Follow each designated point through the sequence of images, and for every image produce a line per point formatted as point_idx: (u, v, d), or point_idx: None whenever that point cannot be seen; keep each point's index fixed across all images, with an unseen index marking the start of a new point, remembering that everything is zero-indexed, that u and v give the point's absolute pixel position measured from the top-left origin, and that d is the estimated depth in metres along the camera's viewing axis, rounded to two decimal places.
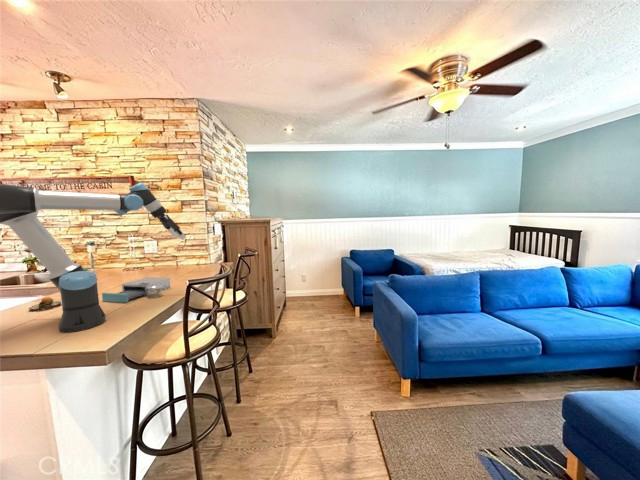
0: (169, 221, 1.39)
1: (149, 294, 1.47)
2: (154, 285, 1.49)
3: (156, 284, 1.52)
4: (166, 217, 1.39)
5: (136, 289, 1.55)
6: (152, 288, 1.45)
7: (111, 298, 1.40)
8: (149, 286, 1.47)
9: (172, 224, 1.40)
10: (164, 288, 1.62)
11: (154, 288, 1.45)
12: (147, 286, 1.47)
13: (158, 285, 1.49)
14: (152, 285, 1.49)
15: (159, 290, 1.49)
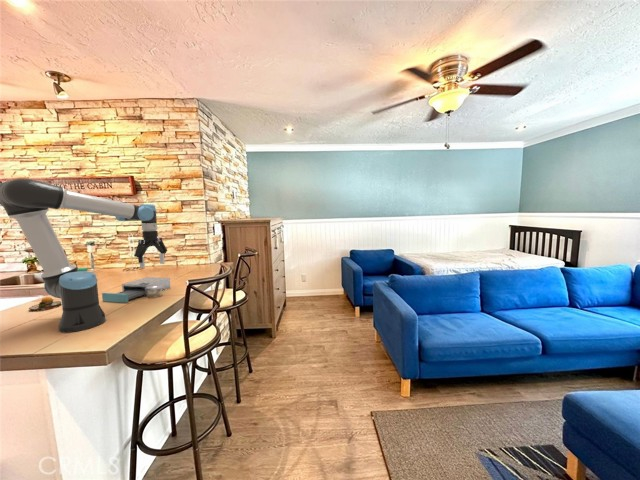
0: (138, 246, 1.39)
1: (149, 294, 1.47)
2: (154, 285, 1.49)
3: (156, 284, 1.52)
4: (140, 241, 1.39)
5: (136, 289, 1.55)
6: (152, 288, 1.45)
7: (111, 298, 1.40)
8: (149, 286, 1.47)
9: (137, 249, 1.38)
10: (164, 288, 1.62)
11: (154, 288, 1.45)
12: (147, 286, 1.47)
13: (158, 285, 1.49)
14: (152, 285, 1.49)
15: (159, 290, 1.49)
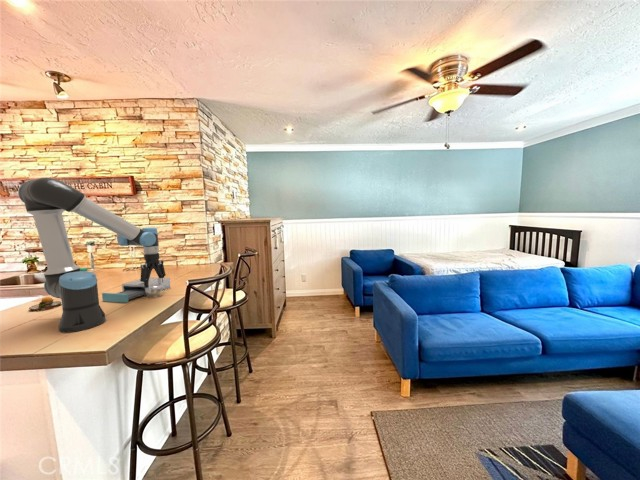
0: (142, 271, 1.41)
1: (149, 294, 1.47)
2: (154, 285, 1.49)
3: (156, 284, 1.52)
4: (142, 266, 1.41)
5: (136, 289, 1.55)
6: (152, 288, 1.45)
7: (111, 298, 1.40)
8: None
9: (141, 275, 1.41)
10: (164, 288, 1.62)
11: (154, 288, 1.45)
12: None
13: (158, 285, 1.49)
14: (152, 285, 1.49)
15: (159, 290, 1.49)
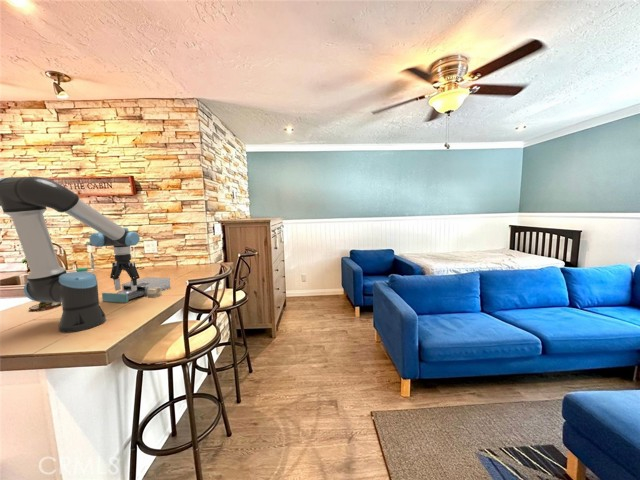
0: (133, 269, 1.43)
1: (149, 294, 1.47)
2: (124, 291, 1.46)
3: (120, 291, 1.45)
4: (133, 264, 1.43)
5: None
6: (134, 291, 1.47)
7: (111, 298, 1.40)
8: (126, 292, 1.44)
9: (135, 272, 1.43)
10: (164, 288, 1.62)
11: (134, 291, 1.48)
12: (124, 292, 1.43)
13: (128, 290, 1.48)
14: (122, 292, 1.44)
15: (159, 290, 1.49)
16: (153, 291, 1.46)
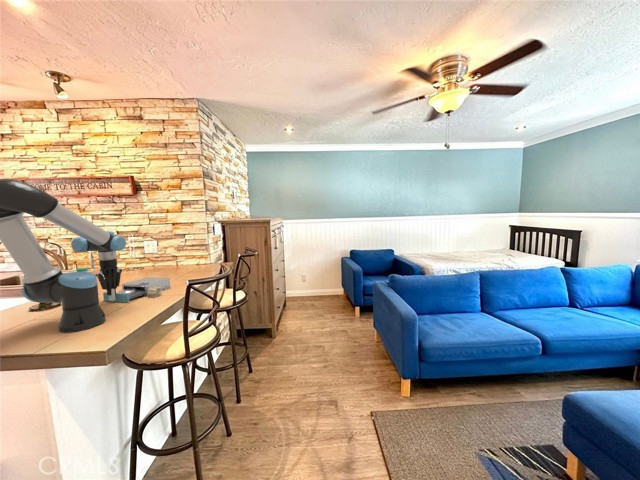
0: (100, 280, 1.32)
1: (149, 294, 1.47)
2: (125, 290, 1.46)
3: (122, 290, 1.47)
4: (98, 276, 1.31)
5: (137, 289, 1.55)
6: (134, 291, 1.47)
7: None
8: (125, 292, 1.44)
9: (101, 283, 1.33)
10: (164, 288, 1.62)
11: (135, 291, 1.48)
12: (123, 292, 1.43)
13: (130, 289, 1.49)
14: (123, 291, 1.45)
15: (159, 290, 1.49)
16: (153, 291, 1.46)
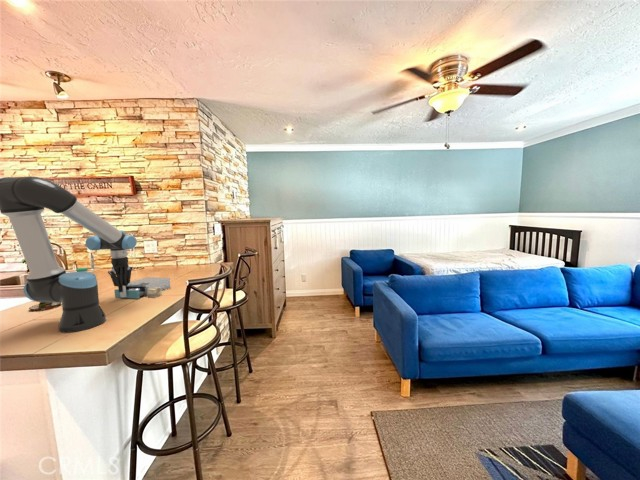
0: (112, 277, 1.38)
1: (149, 294, 1.47)
2: (136, 287, 1.53)
3: (133, 287, 1.53)
4: (110, 273, 1.37)
5: None
6: (143, 288, 1.53)
7: None
8: (135, 288, 1.50)
9: (113, 280, 1.39)
10: (164, 288, 1.62)
11: (144, 288, 1.54)
12: (132, 289, 1.49)
13: None
14: (133, 288, 1.51)
15: (159, 290, 1.49)
16: (153, 291, 1.46)
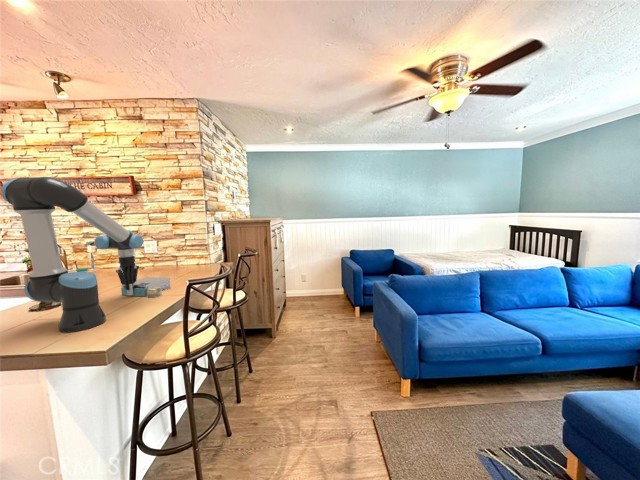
0: (119, 275, 1.43)
1: (149, 294, 1.47)
2: None
3: None
4: (117, 271, 1.41)
5: None
6: None
7: None
8: None
9: (120, 279, 1.43)
10: (164, 288, 1.62)
11: None
12: (138, 287, 1.53)
13: None
14: None
15: (159, 290, 1.49)
16: (153, 291, 1.46)
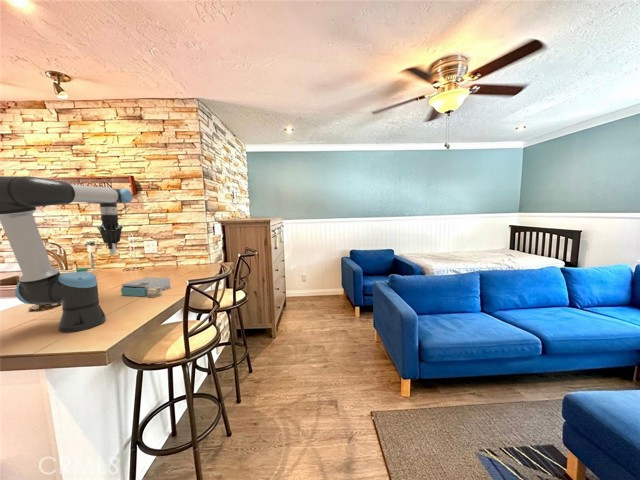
0: (101, 233, 1.40)
1: (149, 294, 1.47)
2: None
3: None
4: (99, 229, 1.38)
5: None
6: None
7: (130, 292, 1.50)
8: None
9: (103, 237, 1.40)
10: (164, 288, 1.62)
11: None
12: (137, 287, 1.54)
13: None
14: None
15: (159, 290, 1.49)
16: (153, 291, 1.46)
